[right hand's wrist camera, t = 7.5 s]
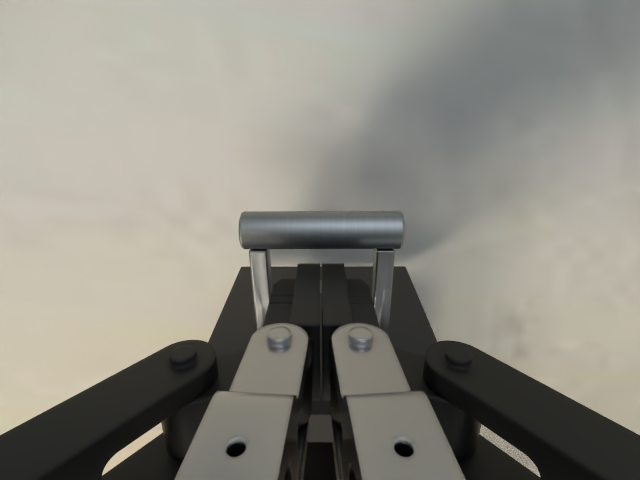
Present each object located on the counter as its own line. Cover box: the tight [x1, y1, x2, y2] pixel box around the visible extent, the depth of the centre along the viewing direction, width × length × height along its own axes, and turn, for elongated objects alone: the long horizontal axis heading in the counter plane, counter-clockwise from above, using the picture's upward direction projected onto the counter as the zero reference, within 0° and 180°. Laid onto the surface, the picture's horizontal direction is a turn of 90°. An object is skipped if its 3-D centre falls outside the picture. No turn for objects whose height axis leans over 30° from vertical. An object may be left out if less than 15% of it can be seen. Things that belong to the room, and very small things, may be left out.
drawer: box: [208, 211, 437, 480], centre depth 18 cm, size 22×9×10 cm, turn 0°
